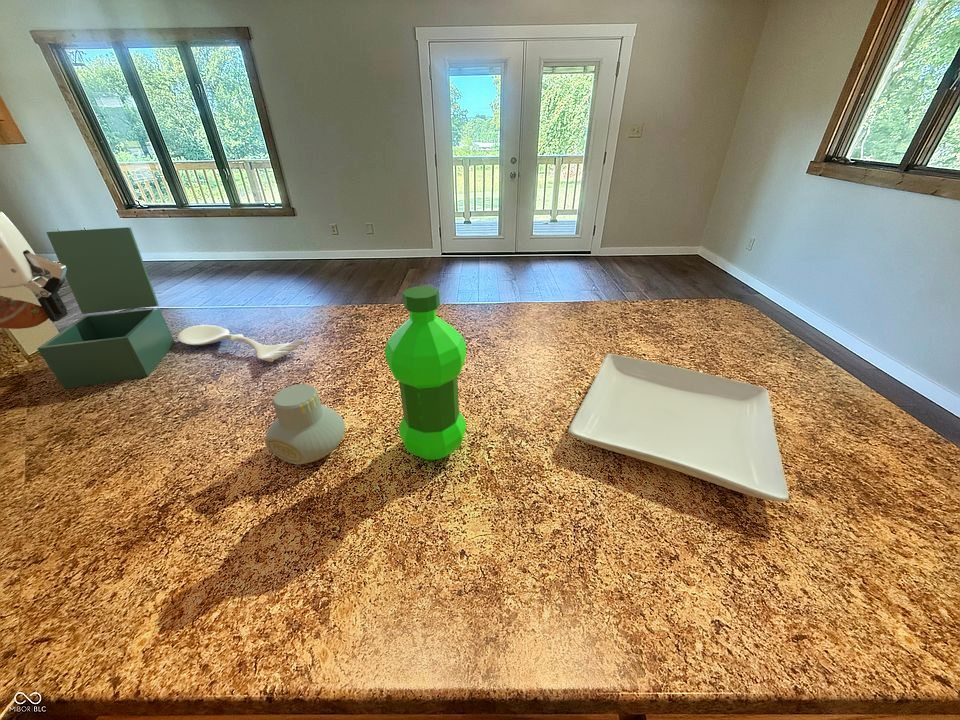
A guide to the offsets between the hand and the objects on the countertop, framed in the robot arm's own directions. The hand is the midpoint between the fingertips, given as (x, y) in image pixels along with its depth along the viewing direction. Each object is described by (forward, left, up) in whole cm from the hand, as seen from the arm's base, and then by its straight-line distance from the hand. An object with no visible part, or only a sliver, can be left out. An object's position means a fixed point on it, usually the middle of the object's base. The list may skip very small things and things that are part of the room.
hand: (24, 320), depth 60 cm
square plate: (+96, -39, -16) cm, 105 cm away
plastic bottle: (+58, -32, -16) cm, 68 cm away
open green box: (+1, +14, -16) cm, 22 cm away
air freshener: (+40, -26, -16) cm, 51 cm away
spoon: (+23, +14, -16) cm, 32 cm away
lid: (+1, +23, +1) cm, 23 cm away
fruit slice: (0, 0, -1) cm, 1 cm away
